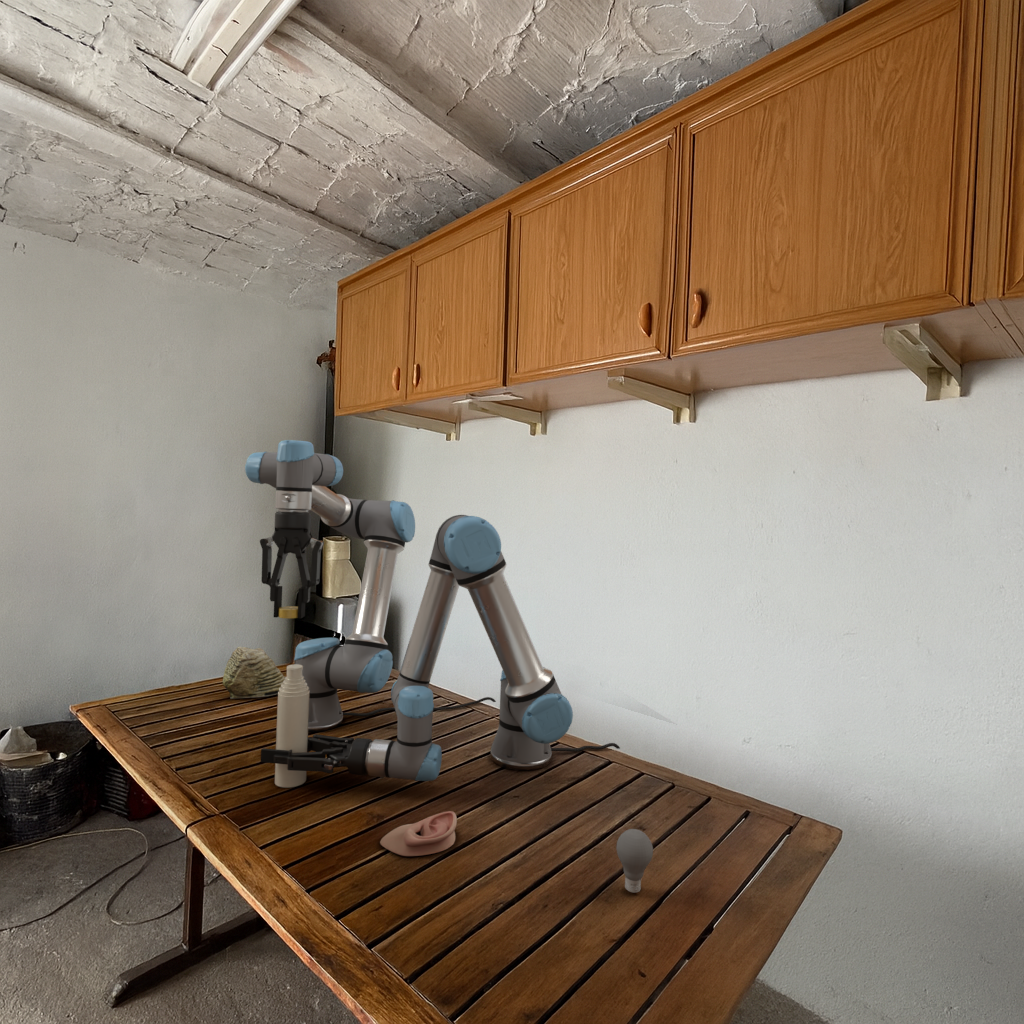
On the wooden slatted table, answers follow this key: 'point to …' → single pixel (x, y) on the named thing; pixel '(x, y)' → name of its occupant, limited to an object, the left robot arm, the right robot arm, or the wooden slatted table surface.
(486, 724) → the wooden slatted table surface
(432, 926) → the wooden slatted table surface
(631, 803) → the wooden slatted table surface
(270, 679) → the fossil
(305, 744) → the bottle
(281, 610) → the cap
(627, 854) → the light bulb
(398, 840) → the anatomical model
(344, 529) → the left robot arm
